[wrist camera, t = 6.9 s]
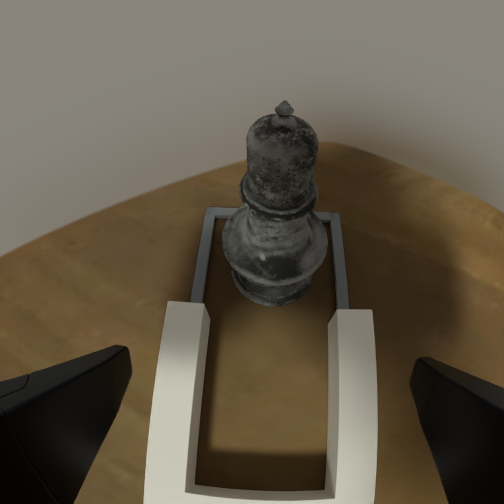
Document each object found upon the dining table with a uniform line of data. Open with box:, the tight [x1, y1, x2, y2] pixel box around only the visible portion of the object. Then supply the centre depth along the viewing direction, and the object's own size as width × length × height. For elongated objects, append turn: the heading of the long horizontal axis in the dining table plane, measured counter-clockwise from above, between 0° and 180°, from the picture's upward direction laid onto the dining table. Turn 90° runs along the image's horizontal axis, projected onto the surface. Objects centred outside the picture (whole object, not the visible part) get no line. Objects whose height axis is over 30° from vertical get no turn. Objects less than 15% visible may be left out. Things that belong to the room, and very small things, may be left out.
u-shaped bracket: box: [144, 301, 378, 504], centre depth 14 cm, size 11×11×2 cm
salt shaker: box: [222, 100, 328, 306], centre depth 15 cm, size 6×6×12 cm
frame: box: [190, 207, 349, 310], centre depth 21 cm, size 8×10×1 cm
